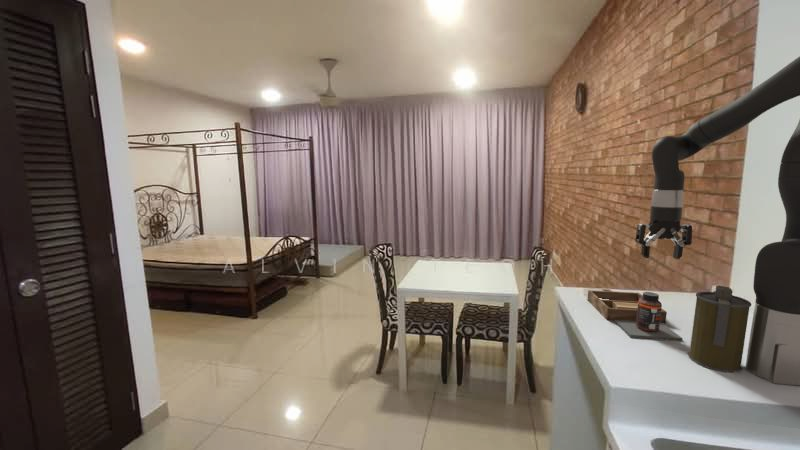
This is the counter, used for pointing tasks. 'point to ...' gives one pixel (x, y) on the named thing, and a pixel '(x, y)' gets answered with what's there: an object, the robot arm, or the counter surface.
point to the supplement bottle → (649, 312)
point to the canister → (719, 330)
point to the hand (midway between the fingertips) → (661, 258)
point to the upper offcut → (625, 305)
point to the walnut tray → (616, 313)
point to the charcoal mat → (635, 332)
